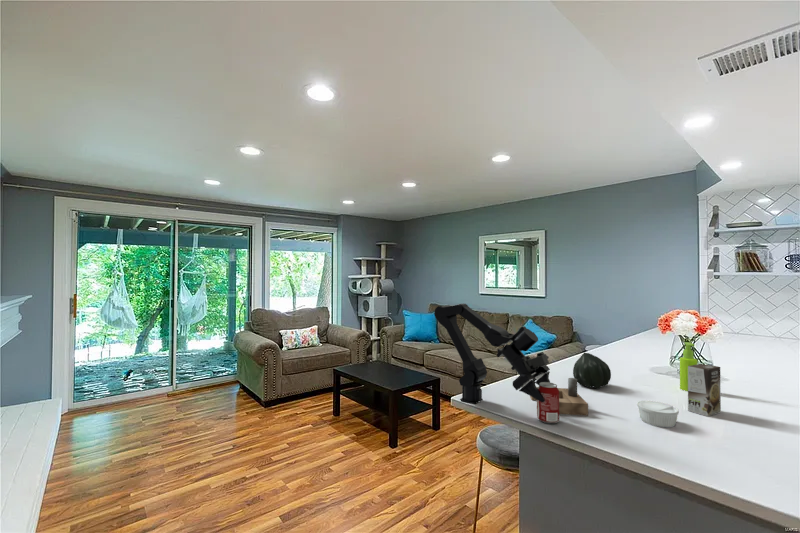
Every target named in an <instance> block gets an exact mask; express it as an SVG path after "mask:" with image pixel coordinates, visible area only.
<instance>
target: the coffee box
mask: <svg viewBox="0 0 800 533" xmlns="http://www.w3.org/2000/svg"><path fill="white" fill-rule="evenodd" d="M721 401H722V400H721V367H720V366H716V365H712V364H705V363H697V364H696V365H691V366H688V391H687V411H688V412H692V413H695V414H699V415H701V416H704V417H711V416H714V415H717V414H720V413H721V412H722V407H721V406H722V404H721V403H722V402H721Z"/></svg>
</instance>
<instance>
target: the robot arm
mask: <svg viewBox="0 0 800 533" xmlns="http://www.w3.org/2000/svg"><path fill="white" fill-rule="evenodd" d="M433 315H434V318H435V319H436V321H437V322H438V324H440V325H441V326H442V327H443V328H444V329H445V330H446V332H447V333H448V336H449V337H450V339H451V342H452V344H453V345H454V347H455V349H456V351H457V353H458V355H459V357H460V359H461V361H462V370H463V376H461V377H460V378H459V379H458V381H459V386H461V388H462V390H461V393H462V394H461V396H462V397H461V398H460V399H459V400H461V402H465V403H469V404H472V405H476V404H478V403H480V402H481V401H483V400H484V399H483V394H482V393H483V392H482V391H483V390H482V388H481V386H482V385H481V384H482V383H483V382H484V379H486V377H487V374H488V371H487V365H486V364H485V363H484V361H483V359H482V358H477V357H476V356H475V355H474V353H473V352H472V349H471V348H470V346H469V344H468V342H467V340H466V337H465V336H464V335H463V333H462V330H461V329H460V327H459V325H458V318H457V315H459V316H461V317H462V318H463V319H465V320H466V321H467V322H469V323H470V324H471V325H472V326H473V327H474V328H476V329H477V330H479V331H480V332H481V333H482V334H483V337H484V339H486V340H487V342H488V343H489V344H490V345H491V346H493V347H495V348H496V347H502V346H503V347H502V348H498V349H497V353H496V357H497V358H500V357H502V356H503V357H504V358H505V359H506V360H507V361H508V363H509V364H510V366H511V367H510V369H511V371H514V370H515V371H516V372H517V374H518V377H516V378H515V379H514V380H513V381H512V387H513V388H514V389H515V391H519V392H522V393H523V394H525V395H527V396H529V397H530V396H531V397H533V398H535V399H537V400H539V401H540V402H542V403H543V402H545V399H544V398H543V396H542V394H541V393H540V391H539V390H538V389H537V387H538V386H539V383H541V382H550V383H551V380H550V378H549V376H550V373H551V372H550V367H548V365H547V364H550V362H549V360H548V359H549V356H548V355H547V354H546V353H544V352H543V351H541V352H538V353H536V356H535V357H531V356H529V355H525V354H524V353H523V352H528V350H530V349H531V348H532V347H533V346H534V345H535V344H536V343H537V342H539V338H538V336H537V335H536V333H535V332H533V331H532V330H531V329H529V328H527V327H526V326H525V325H523V326H521V327H520V328H519V329H518V331H517V332H515V333H511V332H509V331H508V330H506V329H504V328H503V327H501V326H499V325H496V324H493V323H491V322H490V321H488V320H487V319H485V318H484V317H483V316H481V315H480V314H479V313H478V312H476V311H475V310H474V309H472V308H471V307H470V306H469V305H468V304H466V303H458V304H455V305H449V304H448V305H439V306H436V307H435V309H434V312H433ZM508 343H509V344H508ZM536 385H537V386H536ZM537 400H536V401H537Z"/></svg>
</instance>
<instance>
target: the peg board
mask: <svg viewBox="0 0 800 533" xmlns="http://www.w3.org/2000/svg"><path fill="white" fill-rule="evenodd" d="M567 380H568V381H567V384H568V385H567V387H568V388H566V387H565V388H562V387H561V388H560V387H557V388H558V390H559V415H571V416H572V415H573V416H575V415H576V416H587V417H588V416H589V404H588V402H587V401H586V400H584V397H583V398H582V396H580V394H578V382H577V379H575V378H574V377H568V378H567ZM536 387H537V388H538V387H539V386H536ZM529 397H530V399H531V400H532V401H537V399H535V398H533V397H531V396H530V395H529Z"/></svg>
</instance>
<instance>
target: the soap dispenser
mask: <svg viewBox="0 0 800 533" xmlns="http://www.w3.org/2000/svg"><path fill="white" fill-rule="evenodd" d="M684 344H685V348H684V349H683V350H682V351H683V352H682V354H683V356H682V357H679V389H680V390H681V389H682V390H681V391H684V390H685V392H688V366H691V365H696V364H698V359H696V358H695V357H694V350H693V349H692V348H691V347H695V345H694V344H695V343H692V342H690V341H689V342H688V341H684Z"/></svg>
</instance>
